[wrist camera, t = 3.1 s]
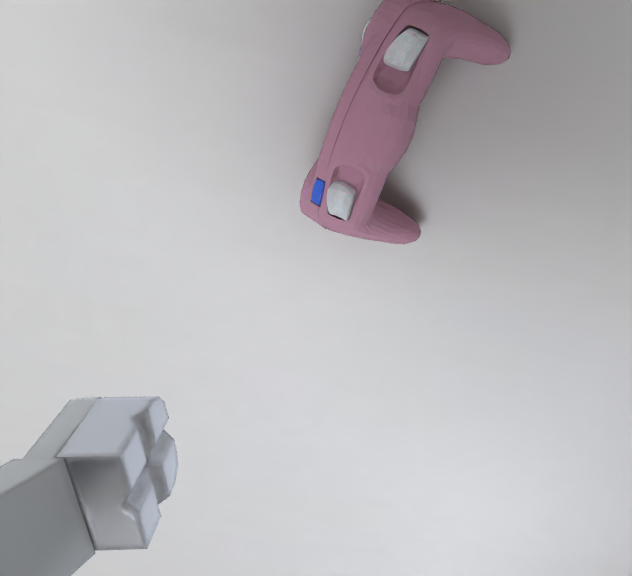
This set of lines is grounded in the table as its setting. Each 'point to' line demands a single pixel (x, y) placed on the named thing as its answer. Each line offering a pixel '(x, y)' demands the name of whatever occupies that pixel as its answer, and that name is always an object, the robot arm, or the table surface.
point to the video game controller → (388, 113)
